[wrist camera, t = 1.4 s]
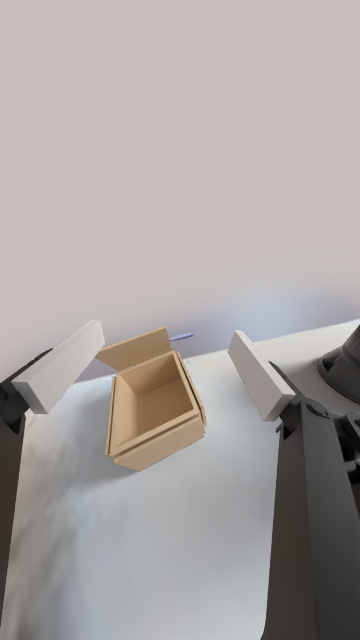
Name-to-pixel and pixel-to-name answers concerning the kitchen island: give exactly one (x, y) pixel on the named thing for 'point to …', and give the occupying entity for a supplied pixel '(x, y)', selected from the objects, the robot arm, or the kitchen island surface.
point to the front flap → (135, 349)
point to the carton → (152, 412)
